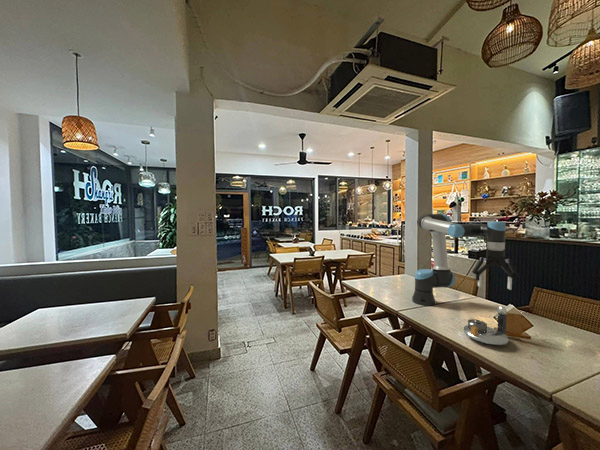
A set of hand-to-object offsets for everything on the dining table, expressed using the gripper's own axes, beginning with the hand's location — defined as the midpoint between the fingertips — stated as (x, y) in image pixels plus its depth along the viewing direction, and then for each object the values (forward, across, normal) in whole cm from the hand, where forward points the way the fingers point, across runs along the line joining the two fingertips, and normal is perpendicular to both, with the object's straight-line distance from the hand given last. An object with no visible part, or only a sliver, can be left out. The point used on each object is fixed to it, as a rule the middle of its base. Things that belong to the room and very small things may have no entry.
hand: (494, 287), depth 131 cm
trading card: (+24, -16, -2) cm, 29 cm away
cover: (+20, -10, -11) cm, 25 cm away
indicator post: (+24, 0, -8) cm, 25 cm away
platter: (+21, -8, -14) cm, 27 cm away
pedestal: (+24, -8, -14) cm, 29 cm away
